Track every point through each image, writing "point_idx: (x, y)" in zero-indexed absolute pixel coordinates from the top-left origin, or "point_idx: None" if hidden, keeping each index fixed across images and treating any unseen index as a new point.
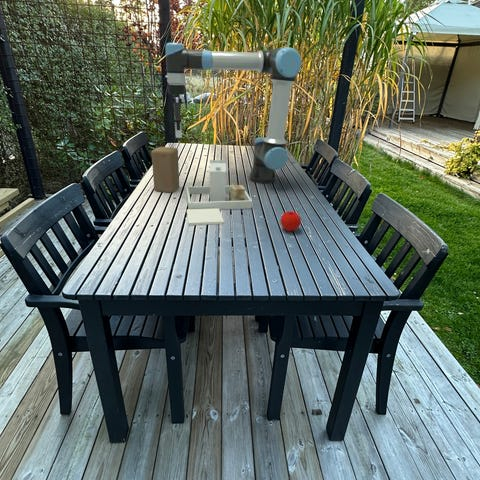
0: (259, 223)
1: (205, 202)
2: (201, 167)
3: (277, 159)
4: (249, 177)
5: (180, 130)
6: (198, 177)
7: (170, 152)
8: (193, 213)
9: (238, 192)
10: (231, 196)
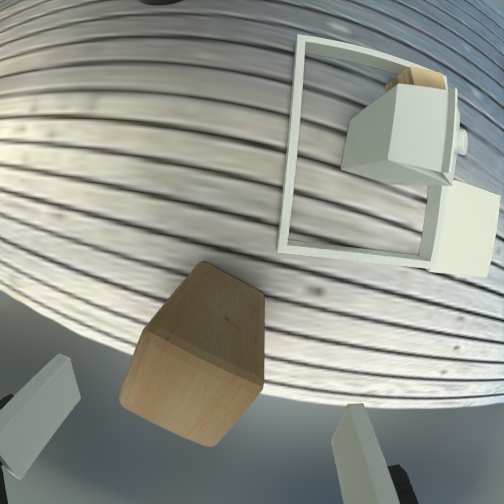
0: (500, 118)
1: (443, 216)
2: (17, 156)
3: None
4: (161, 1)
5: (377, 461)
6: (99, 172)
7: (256, 385)
8: (454, 257)
9: None
10: None
